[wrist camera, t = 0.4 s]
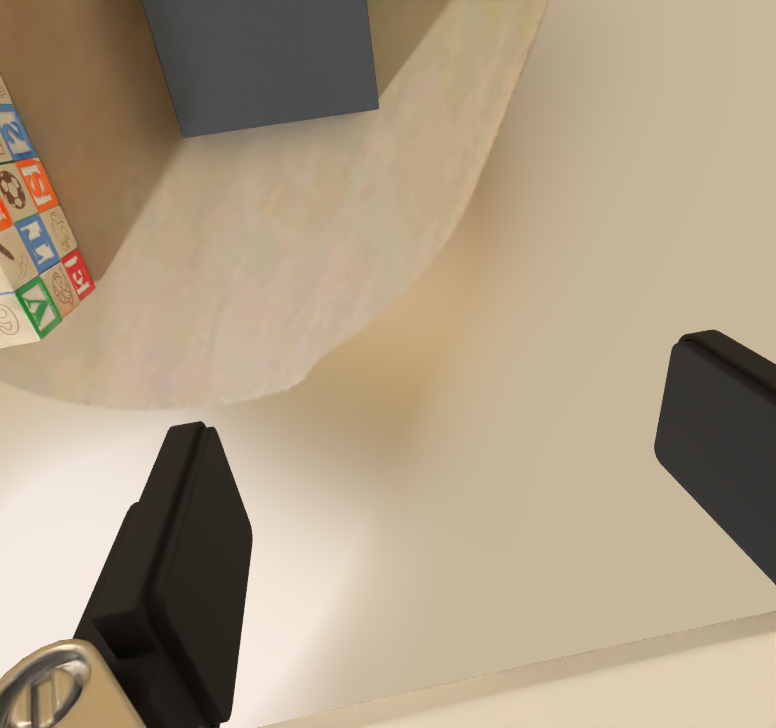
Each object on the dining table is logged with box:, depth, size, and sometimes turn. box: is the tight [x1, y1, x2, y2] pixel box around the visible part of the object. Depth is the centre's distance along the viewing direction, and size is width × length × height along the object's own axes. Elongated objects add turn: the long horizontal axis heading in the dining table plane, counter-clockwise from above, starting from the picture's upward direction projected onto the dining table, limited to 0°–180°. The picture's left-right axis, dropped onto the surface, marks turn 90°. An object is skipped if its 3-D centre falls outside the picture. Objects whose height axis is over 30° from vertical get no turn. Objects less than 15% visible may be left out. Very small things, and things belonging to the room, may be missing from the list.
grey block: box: [141, 0, 379, 138], centre depth 29 cm, size 12×12×4 cm
